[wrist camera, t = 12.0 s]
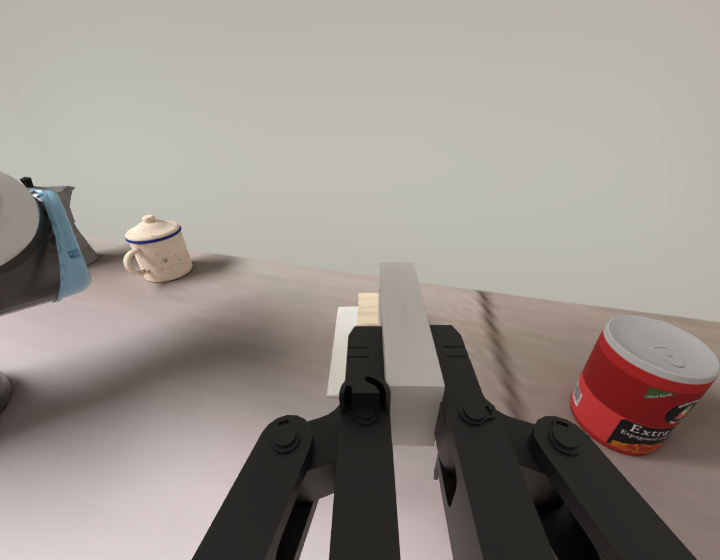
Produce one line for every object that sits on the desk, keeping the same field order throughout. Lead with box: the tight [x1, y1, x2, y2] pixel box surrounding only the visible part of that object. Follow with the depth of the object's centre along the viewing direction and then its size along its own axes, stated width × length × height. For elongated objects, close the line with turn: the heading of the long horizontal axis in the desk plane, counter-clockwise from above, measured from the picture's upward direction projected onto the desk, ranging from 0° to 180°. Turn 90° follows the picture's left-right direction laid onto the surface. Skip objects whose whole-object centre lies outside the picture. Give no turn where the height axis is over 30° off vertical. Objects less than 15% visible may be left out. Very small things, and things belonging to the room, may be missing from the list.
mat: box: [327, 307, 358, 397], centre depth 43 cm, size 17×12×1 cm
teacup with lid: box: [123, 215, 193, 282], centre depth 59 cm, size 12×9×12 cm
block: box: [357, 293, 379, 326], centre depth 40 cm, size 5×5×14 cm
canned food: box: [571, 315, 720, 456], centre depth 30 cm, size 8×8×11 cm
